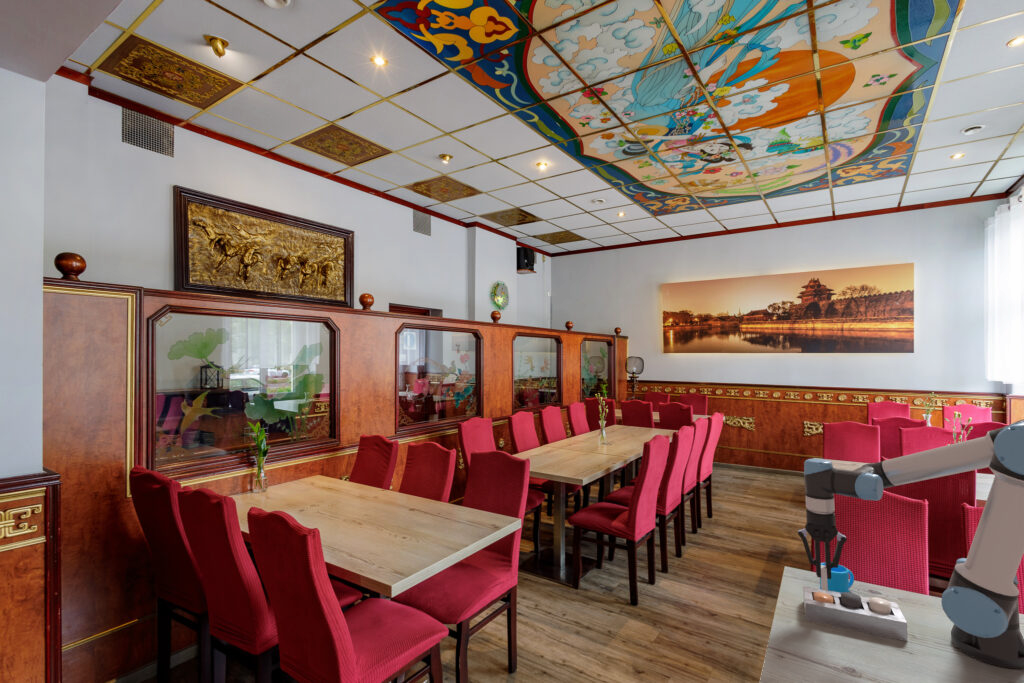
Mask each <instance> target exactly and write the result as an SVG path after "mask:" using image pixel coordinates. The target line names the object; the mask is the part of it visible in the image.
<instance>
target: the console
mask: <svg viewBox="0 0 1024 683" xmlns="http://www.w3.org/2000/svg"><path fill="white" fill-rule="evenodd" d="M802 592H803V593H802V594H803V596H802V597H803V599H802V600H803V607H804V613H805V614H804V615H805V620H806V621H810V622H815V623H819V624H824V625H828V626H832V627H833V626H834V627H839V628H843V629H848V630H851V631H858V632H863V633H866V634H867V633H868V634H871V635H872V634H873V635H876V636H880V637H886V638H891V639H895V640H900V641H905V642H909V640H908V622H907V620H906V618H905V616H904V614H903V613H902V611H901V609H900V606H899V605H898V603H897V602H894V601H889V602H890V604H891V615H889V614H884V613H878V612H873V611H870V608H869V598H870V597H864V596H861V595H859V596H860V597H861V609H858V608H852V607H847V606H842V605H841V593H839V592H833V591H826V590H822V589H820V588H816V587H811V586H805V585H803V586H802ZM815 592H822V593H826V594H829V595H831V596H832V597H833V604H831V603H826V602H821V601H816V600H814V593H815Z"/></svg>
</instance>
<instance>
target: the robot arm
mask: <svg viewBox="0 0 1024 683" xmlns="http://www.w3.org/2000/svg"><path fill="white" fill-rule="evenodd" d="M803 463H804V464H803V465H804V466H803V469H804V470H803V476H804V491H805V492H804V493H805V508H806V510H805V511H806V512H805V514H806V516H805V517H806V524H805V526H804V528H802V529H798V530H797V535H798V536H799V538H800V539H801V540H802V544H803V546H804V549H805V552H806V556H807V559H808V562H809V564H810V565H813V566H815V572H816V574H815V575H816V578H819V579H820V578H821V588H822V590H826V591H828V585H827V579H831V568H834V567H835V568H837V567H838V565H840V559H841V555H842V552H843V551H842V550H843V547H844V545H845V544H846V542H847V541H848V538H847V537H846V535H845V534H842V533H841V532H839V530H838V528H837V524H836V523H837V522H836V513H835V510H836V508H835V495H839V496H844V497H851V498H854V499H855V498H856V499H861V500H864V501H873V502H874V501H876V502H877V501H880V500H881V499H882V498H883V495H884V489H889V488H893V487H896V486H902V485H906V484H910V483H917V482H921V481H926V480H931V479H936V478H942V477H946V476H951V475H956V474H960V473H961V474H962V473H965V472H971V471H977V470H981V469H986V468H988V469H990V471H991V472H992V474H994V478H993V481H992V483H991V487H990V490H989V492H988V495H987V499H986V501H985V504H984V507H983V511H982V513H981V516H980V519H979V521H978V525H977V527H976V530H975V533H974V536H973V539H972V543H971V545H970V549H968V550H969V551H968V553H967V556H966V558H965V557H961V558H958V559H956V562H955V566H954V567H953V571H952V574H951V577H950V578H949V582H948V584H947V588H946V589H945V590H944V591H943V592H942V594H941V599H940V600H941V607H942V610H943V613H945V615H946V617H947V618H948V620H950V622H951V623H953V624H952V625H953V626H952V628H951V631H950V640H951V643H952V644H953V646H955V647H956V649H958V650H959V651H961V652H962V653H964V654H966V655H967V656H970V657H972V658H973V659H976V660H979V661H981V662H983V663H986V664H991V665H992V666H993V665H994V666H997V667H1001V668H1007V669H1014V670H1022V669H1024V636H1023V633H1022V631H1021V629H1020V628H1021V626H1020V625H1021V624H1020V611H1019V610H1020V607H1019V594H1020V590H1019V589H1018V588H1019V587H1018V585H1020V584H1019V581H1018V577H1017V576H1018V575H1017V572H1018V569H1019V567H1020V564H1021V562H1022V559H1023V556H1024V418H1023V419H1020V420H1017V421H1014V422H1012V423H1010V424H1009V425H1005V426H1003V427H1000V428H996V429H993V430H989V431H987V433H986V435H985V436H981V437H976V438H973V439H969V440H964V441H961V442H960V441H959V442H956V443H951V444H948V445H944V446H939V447H935V448H931V449H927V450H923V451H919V452H915V453H911V454H906V455H901V456H898V457H893V458H891V459H890V458H889V459H886V460H883V461H878V462H873V463H872V462H871V463H870V462H869V463H865V464H864V465H861V466H859V467H857V468H856V469H853V470H847V469H841V468H840V469H838V468H836V467H834V466H833V462H832V461H830V460H828V459H822V458H808V459H806V460H805V461H804V462H803ZM808 535H809V537H811V538H812V540H814V556H815V557H814V558H813V554H812V552H811V548H810V546H809V543H808V538H807V537H808ZM835 538H836V545H835V550H834V554H833V558H832V561H831V543H830V542H832V541H833V540H834V539H835ZM821 542H822V543H823V544H824V560H825V562H824V563H825V564H826V566H825V565H821V563H822V561H821V560H822V559H821V558H822V557H821Z"/></svg>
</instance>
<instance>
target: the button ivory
mask: <svg viewBox="0 0 1024 683" xmlns="http://www.w3.org/2000/svg"><path fill="white" fill-rule="evenodd" d="M868 598H869V608H870V611H873V612H878V613H884V614H889V615H891V604H890V602H891V601H889V600H886V599H884V598H881V597H877V596H876V597H875V596H873V597H868Z"/></svg>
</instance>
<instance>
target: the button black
mask: <svg viewBox="0 0 1024 683" xmlns="http://www.w3.org/2000/svg"><path fill="white" fill-rule="evenodd" d="M860 596H861V595H858V594H856V593H853V592H850V591H849V592H842V593H841V605H842V606H847V607H852V608H858V609H861V597H862V596H861V597H860Z"/></svg>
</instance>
